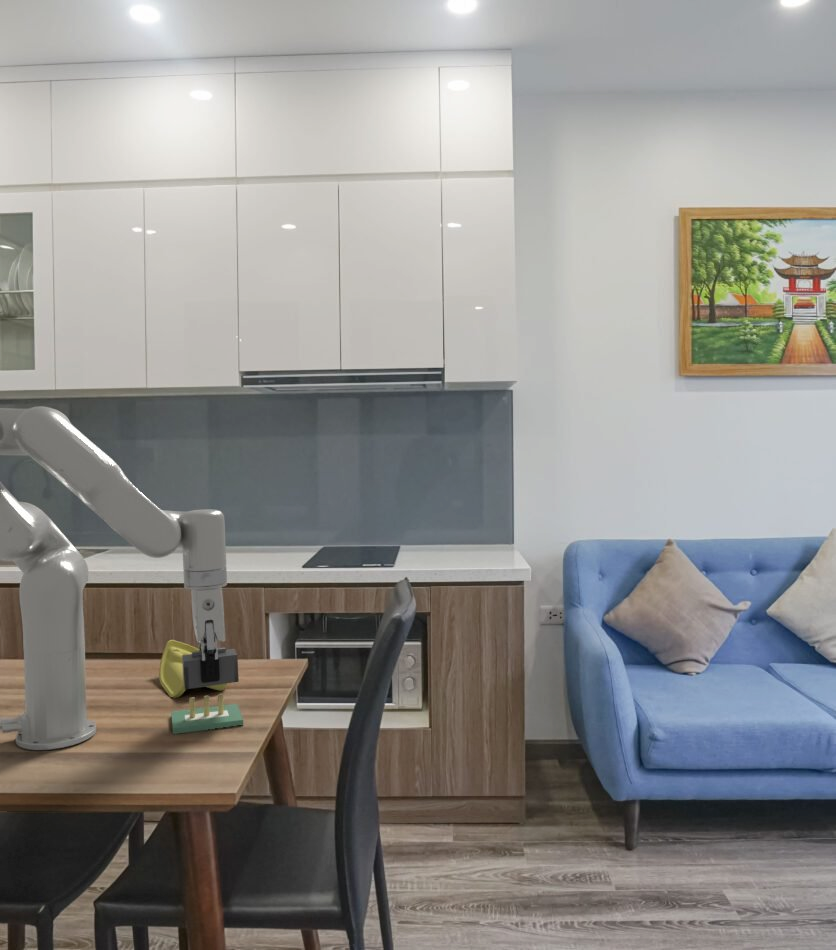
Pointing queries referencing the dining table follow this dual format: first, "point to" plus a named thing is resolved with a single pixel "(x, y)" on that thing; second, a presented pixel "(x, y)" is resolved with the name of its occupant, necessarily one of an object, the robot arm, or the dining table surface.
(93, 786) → the dining table surface
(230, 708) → the header
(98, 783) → the dining table surface
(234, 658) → the plug
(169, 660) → the plastic component
